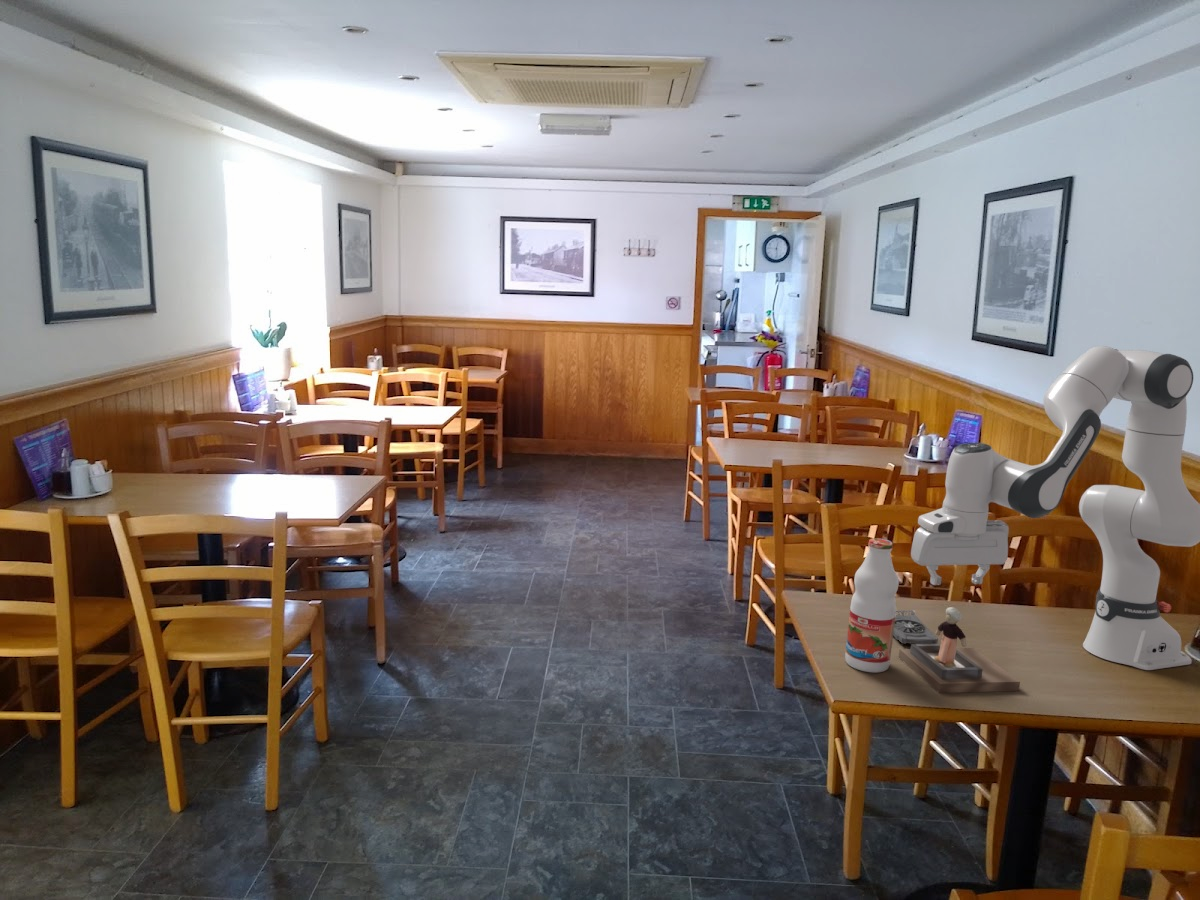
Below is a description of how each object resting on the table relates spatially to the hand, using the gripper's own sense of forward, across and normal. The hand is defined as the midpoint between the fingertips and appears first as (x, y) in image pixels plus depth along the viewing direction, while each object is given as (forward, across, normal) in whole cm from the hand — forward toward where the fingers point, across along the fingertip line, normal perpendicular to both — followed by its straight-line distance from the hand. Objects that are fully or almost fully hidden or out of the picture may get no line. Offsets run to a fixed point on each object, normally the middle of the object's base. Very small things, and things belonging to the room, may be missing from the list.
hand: (955, 583), depth 182 cm
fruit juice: (+20, +16, -5) cm, 26 cm away
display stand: (+20, -2, 0) cm, 21 cm away
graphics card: (+21, -1, -21) cm, 30 cm away
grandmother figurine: (+18, 0, 0) cm, 18 cm away
